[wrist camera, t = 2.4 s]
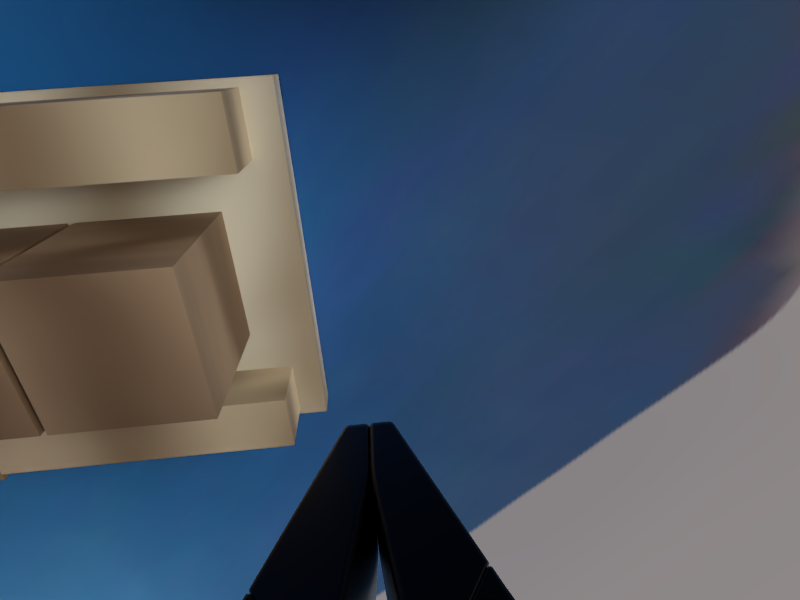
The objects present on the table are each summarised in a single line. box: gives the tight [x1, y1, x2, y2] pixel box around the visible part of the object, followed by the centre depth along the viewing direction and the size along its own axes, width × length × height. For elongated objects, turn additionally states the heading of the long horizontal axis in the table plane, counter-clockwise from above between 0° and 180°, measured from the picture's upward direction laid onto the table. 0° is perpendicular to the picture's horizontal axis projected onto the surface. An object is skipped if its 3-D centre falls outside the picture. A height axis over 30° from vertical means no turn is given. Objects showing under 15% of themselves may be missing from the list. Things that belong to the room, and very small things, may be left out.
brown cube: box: [0, 212, 250, 435], centre depth 14 cm, size 4×4×4 cm
